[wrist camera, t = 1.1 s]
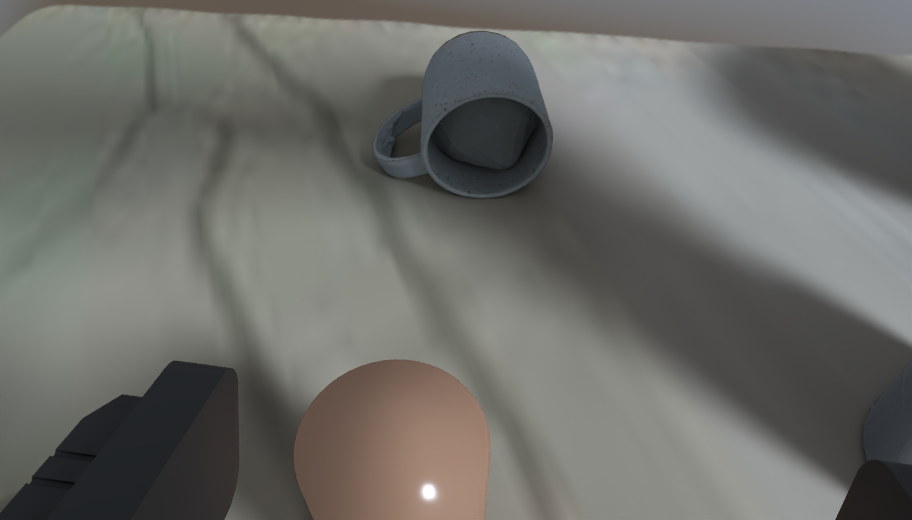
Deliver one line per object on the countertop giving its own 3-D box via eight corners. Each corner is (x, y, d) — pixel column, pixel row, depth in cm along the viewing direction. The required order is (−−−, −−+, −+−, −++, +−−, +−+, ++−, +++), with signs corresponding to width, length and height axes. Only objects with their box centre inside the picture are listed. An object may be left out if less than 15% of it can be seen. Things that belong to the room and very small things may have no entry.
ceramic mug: (529, 112, 49) (535, 11, 43) (548, 195, 44) (559, 92, 38) (375, 123, 49) (361, 22, 43) (376, 208, 44) (360, 106, 38)
